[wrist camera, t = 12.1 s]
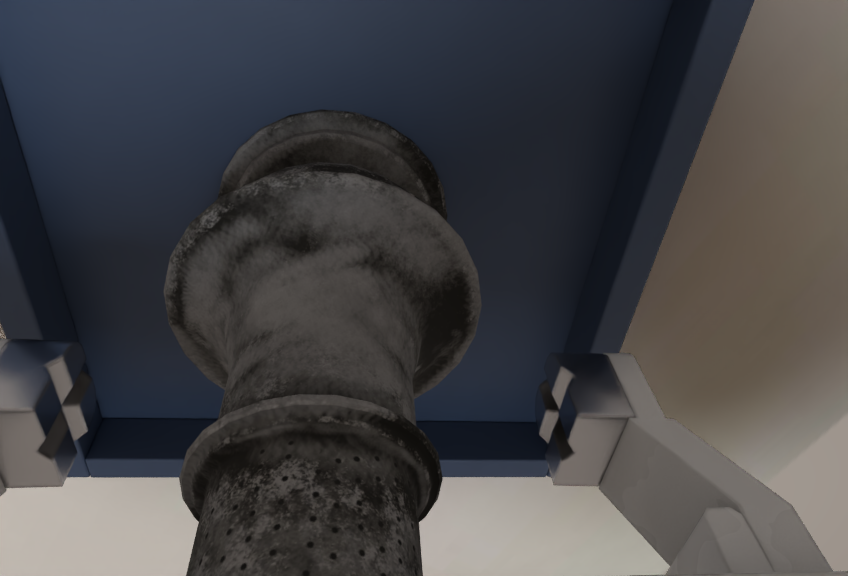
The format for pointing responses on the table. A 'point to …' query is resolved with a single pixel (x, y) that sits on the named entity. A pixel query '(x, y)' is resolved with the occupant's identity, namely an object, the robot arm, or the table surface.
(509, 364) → the tray
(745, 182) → the table surface
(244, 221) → the black chess piece
